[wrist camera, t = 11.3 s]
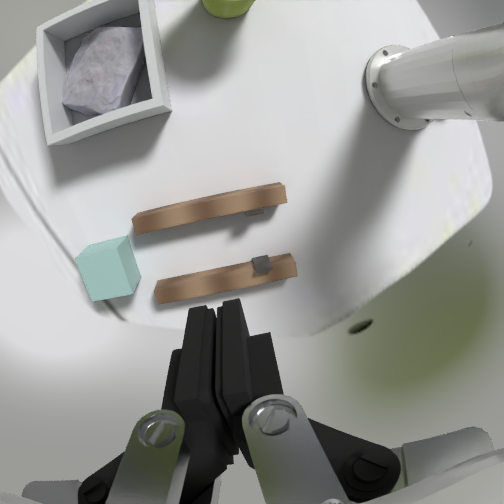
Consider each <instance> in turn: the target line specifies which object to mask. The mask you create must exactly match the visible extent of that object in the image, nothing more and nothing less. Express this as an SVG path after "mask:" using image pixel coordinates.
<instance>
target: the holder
mask: <svg viewBox="0 0 504 504" xmlns="http://www.w3.org/2000/svg"><path fill="white" fill-rule="evenodd" d="M139 12H140V19H141V27H142V35H143V42H144V49H145V56H146V62H147V69H148V75H149V81H150V87H151V93H152V98H153V99H149V100H146V101H142V102H139V103H136V104H132V105H129V106H126V107H123V108H120V109H117V110H114V111H111V112H108V113H105V114H102V115H100V116H97V117H94V118H91V119H89V120H86V121H84V122H81V123H79V124H76V125H73V119H72V113H71V109H70V108H68V107H67V106H65V105H64V104H63V103H62V99H63V97H62V95H63V91H64V87H65V85H66V79H67V75H66V64H65V51H64V41H66V40H68V39H71V38H73V37H75V36H77V35H80V34H82V33H84V32H87V31H89V30H91V29H94V28H96V27H99V26H101V25H104V24H107V23H109V22H112V21H115V20H118V19H121V18H124V17H127V16H130V15H133V14H136V13H139ZM37 67H38V81H39V92H40V101H41V109H42V117H43V123H44V130H45V136H46V141H47V146H51V145H62V144H71V143H73V142H76V141H79V140H81V139H84V138H86V137H89V136H92V135H95V134H97V133H100V132H103V131H106V130H109V129H112V128H115V127H118V126H121V125H124V124H127V123H131V122H134V121H137V120H141V119H144V118H147V117H151V116H155V115H158V114H162V113H166V112H170V111H172V107H171V101H170V96H169V90H168V85H167V79H166V73H165V67H164V61H163V55H162V49H161V43H160V36H159V29H158V22H157V15H156V8H155V2H154V0H92V1H90V2H87V3H85V4H83V5H80V6H78V7H76V8H74V9H71V10H70V11H67V12H65V13H63V14H61V15H59V16H57V17H55V18H53V19H51V20H50V21H47V22H46V23H44V24H42V25H40V26H38V27H37Z"/></svg>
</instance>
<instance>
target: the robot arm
mask: <svg viewBox="0 0 504 504" xmlns="http://www.w3.org/2000/svg"><path fill="white" fill-rule="evenodd" d="M366 84H367V90H368V93H369V96H370V98H371V101H372V103H373V105H374V106H375V108H376V109H377V111H378V112H379V113H380V114H381V115H382V117H383V118H384V119H386V120H387V121H388V122H389V123H390V124H392V125H394V126H396V127H398V128H401V129H406V130H418V129H421V128H424V127H425V126H427V125H429V124H430V123H431V122H432V121H433V119H461V120H482V121H499V122H500V121H504V22H502V23H499V24H496V25H492V26H488V27H485V28H481V29H477V30H473V31H470V32H466V33H462V34H459V35H455V36H451V37H448V38H444V39H441V40H438V41H434V42H431V43H428V44H425V45H422V46H419V47H416V48H413V49H410V48H408V47H405V46H401V45H389V46H385V47H383V48H381V49H379V50H378V51H376V52H375V53H374V54H373V56H372V57H371V58H370V60H369V62H368V65H367V70H366ZM372 85H373V86H372ZM239 448H240V450H241V452H242V454H243V456H244V458H245V460H246V461H247V463H248V465H249V466H250V467H251V468H253V469H255V471H256V474H257V477H258V480H259V483H260V487H261V490H262V493H263V496H264V499H265V502H266V504H504V448H501V449H498V450H494V447H493V444H492V441H491V438H490V436H489V435H488V433H487V432H486V431H484V430H483V429H482V428H477V427H468V428H464V429H460V430H457V431H454V432H450V433H447V434H443V435H439V436H435V437H431V438H427V439H423V440H418V441H413V442H409V443H404V444H403V445H402V447H397V448H392V449H388V448H386V447H384V446H381V445H378V444H375V443H372V442H369V441H366V440H363V439H361V438H358V437H355V436H352V435H349V434H347V433H344V432H342V431H339V430H336V429H334V428H331V427H328V426H326V425H324V424H321V423H319V422H316V421H314V420H311V419H309V418H307V416H306V414H305V412H304V410H303V408H302V407H301V405H300V404H299V402H297V400H295V399H293V398H292V397H290V396H286V395H284V394H283V389H282V385H281V380H280V376H279V371H278V366H277V361H276V357H275V352H274V348H273V343H272V338H271V334H270V332H269V333H264V334H259V335H254V336H250V335H249V331H248V328H247V324H246V320H245V316H244V313H243V309H242V305H241V301H240V299H239V298H238V299H234V300H229V301H224V302H223V306H221V307H217V318H216V315H215V312H214V309H213V308H211V309H208V308H207V306H206V305H204V306H199V307H193V308H189V311H188V317H187V323H186V328H185V334H184V340H183V346H182V349H176V350H174V351H173V352H172V355H171V360H170V365H169V370H168V375H167V381H166V386H165V391H164V397H163V403H162V408H161V410H156V411H153V412H150V413H148V414H146V415H145V416H143V417H142V418H141V419H140V420H139V421H138V422H137V423H136V425H135V427H134V429H133V431H132V434H131V437H130V439H129V442H128V444H127V447H126V449H125V452H123V453H122V454H120V455H119V456H118V457H116V458H115V459H114V460H112V461H111V462H109V463H108V464H106V465H105V466H104V467H102V468H101V469H100V470H98V471H97V472H95V473H94V474H92V475H91V476H89V477H88V478H87V479H85V480H84V481H83V482H80V481H79V480H66V481H33V482H30V483H29V484H27V485H26V486H25V488H24V489H23V492H22V497H20V496H18V495H15V494H11V493H6V492H0V504H218V499H219V492H220V486H221V476H220V475H221V474H222V473H223V472H224V471H225V470H226V469H227V465H228V464H234V462H233V455H238V454H239Z"/></svg>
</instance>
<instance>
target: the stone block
mask: <svg viewBox="0 0 504 504" xmlns="http://www.w3.org/2000/svg"><path fill="white" fill-rule="evenodd" d="M145 59H146V56H145V49H144V42H143V35H142V27H112V26H111V27H98V28H95V29H94V30H93V31H92V32H89V33H88V34H87V35H86V36H85V37H84V38H83V39H82V41H81V45H80V48H79V50H78V51H77V52H76V54H75V56H74V58H73V61H72V64H71V69H70V71H69V73H68V76H67V79H66V85H65V87H64V91H63V95H62V97H63V99H62V103H63V104H64V105H65V106H67V107H68V108H70V109H72V110H75V111H77V112H81V113H82V114H85V115H102V114H105V113H108V112H111V111H114V110H117V109H120V108H123V107H126V106H129V105H130V102H131V99H132V96H133V92H134V89H135V87H136V84H137V81H138V78H139V75H140V72H141V70H142V67H143V64H144V61H145Z"/></svg>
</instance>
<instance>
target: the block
mask: <svg viewBox="0 0 504 504" xmlns="http://www.w3.org/2000/svg"><path fill="white" fill-rule="evenodd" d="M75 260H76V263H77V265H78V268H79V271H80V273H81V276H82V278H83V281H84V283H85V286H86V288H87V291H88V293H89V296H90V298H91V300H92V302H94V301H99V300H104V299H109V298H115V297H120V296H125V295H130V294H133V293H134V291H135V288H136V286H137V284H138V282H139V280H140V278H141V275H140V272H139V269H138V266H137V263H136V260H135V257H134V254H133V251H132V248H131V244H130V241H129V238H128V235H127V236H123V237H119V238H115V239H111V240H107V241H103V242H99V243H96V244H92V245H89V246H88V247H87V248H86V249H85V250H84V251H83V252H82V253H80V254H79V255H78V256H77V257H76V258H75Z"/></svg>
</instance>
